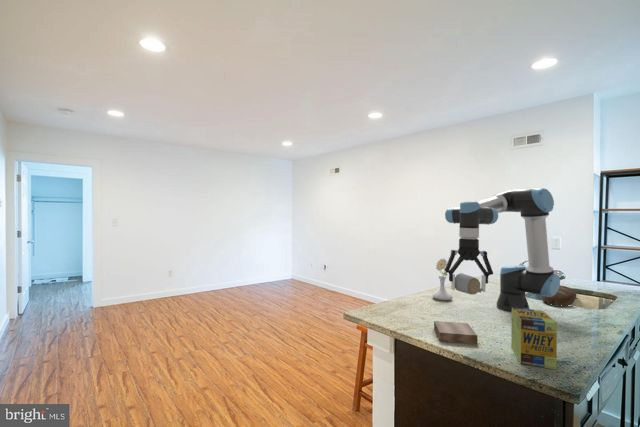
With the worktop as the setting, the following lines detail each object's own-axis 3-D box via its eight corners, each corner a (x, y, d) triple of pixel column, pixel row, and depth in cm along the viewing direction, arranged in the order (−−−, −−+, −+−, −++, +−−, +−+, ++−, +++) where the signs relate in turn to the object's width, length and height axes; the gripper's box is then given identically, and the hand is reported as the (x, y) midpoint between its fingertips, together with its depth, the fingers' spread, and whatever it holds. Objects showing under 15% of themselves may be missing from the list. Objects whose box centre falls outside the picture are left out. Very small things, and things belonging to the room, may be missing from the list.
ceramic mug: (468, 296, 127) (469, 276, 127) (452, 291, 134) (453, 273, 134) (487, 294, 131) (487, 276, 131) (470, 290, 138) (471, 272, 138)
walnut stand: (467, 331, 137) (467, 323, 137) (477, 344, 123) (477, 335, 123) (434, 328, 140) (434, 320, 140) (439, 341, 126) (439, 332, 126)
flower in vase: (430, 296, 196) (430, 256, 196) (449, 297, 194) (449, 256, 194) (435, 302, 183) (435, 259, 183) (455, 303, 181) (456, 259, 181)
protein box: (520, 364, 107) (520, 319, 107) (510, 346, 122) (511, 306, 122) (557, 370, 103) (557, 323, 103) (543, 351, 118) (543, 309, 118)
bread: (536, 304, 182) (537, 289, 182) (548, 293, 207) (548, 280, 207) (571, 310, 171) (571, 294, 171) (579, 297, 196) (579, 284, 196)
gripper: (496, 238, 134) (495, 289, 134) (437, 236, 138) (436, 286, 138) (502, 239, 127) (502, 294, 126) (441, 237, 131) (440, 290, 131)
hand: (468, 290), depth 132 cm, fingers closed on ceramic mug, 11 cm apart
